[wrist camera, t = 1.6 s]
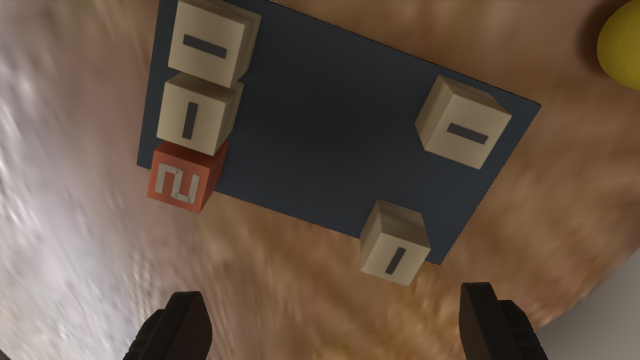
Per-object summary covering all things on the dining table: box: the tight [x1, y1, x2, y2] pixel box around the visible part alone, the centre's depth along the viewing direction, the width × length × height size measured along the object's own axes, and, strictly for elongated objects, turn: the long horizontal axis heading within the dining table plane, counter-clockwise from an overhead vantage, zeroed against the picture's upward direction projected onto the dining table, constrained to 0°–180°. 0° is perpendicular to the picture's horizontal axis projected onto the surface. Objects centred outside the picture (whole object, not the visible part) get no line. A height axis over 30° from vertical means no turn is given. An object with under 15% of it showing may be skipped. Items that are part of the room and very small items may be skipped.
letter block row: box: [360, 75, 512, 286], centre depth 30 cm, size 4×15×5 cm, turn 161°
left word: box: [157, 0, 262, 156], centre depth 28 cm, size 4×9×5 cm, turn 161°
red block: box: [147, 140, 229, 213], centre depth 31 cm, size 4×4×5 cm
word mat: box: [137, 0, 542, 265], centre depth 32 cm, size 28×16×1 cm, turn 71°
